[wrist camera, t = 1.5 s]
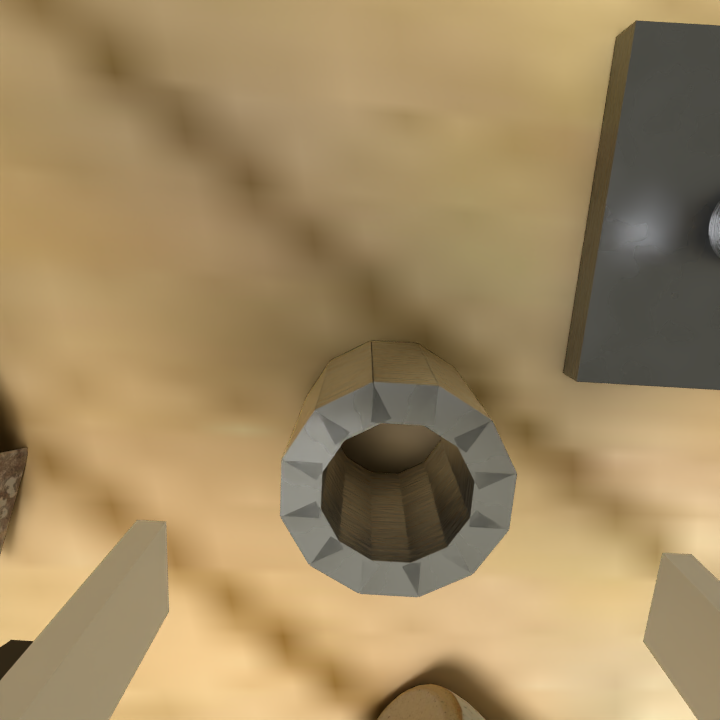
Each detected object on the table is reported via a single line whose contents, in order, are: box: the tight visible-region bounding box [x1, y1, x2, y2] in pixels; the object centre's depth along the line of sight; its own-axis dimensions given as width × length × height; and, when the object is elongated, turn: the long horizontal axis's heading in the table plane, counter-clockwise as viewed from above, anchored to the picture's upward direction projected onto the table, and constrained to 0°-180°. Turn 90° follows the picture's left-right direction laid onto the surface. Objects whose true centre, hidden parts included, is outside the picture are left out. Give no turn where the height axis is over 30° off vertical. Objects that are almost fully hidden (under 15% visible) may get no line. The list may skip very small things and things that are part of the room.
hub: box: [280, 341, 517, 597], centre depth 20 cm, size 8×8×7 cm
